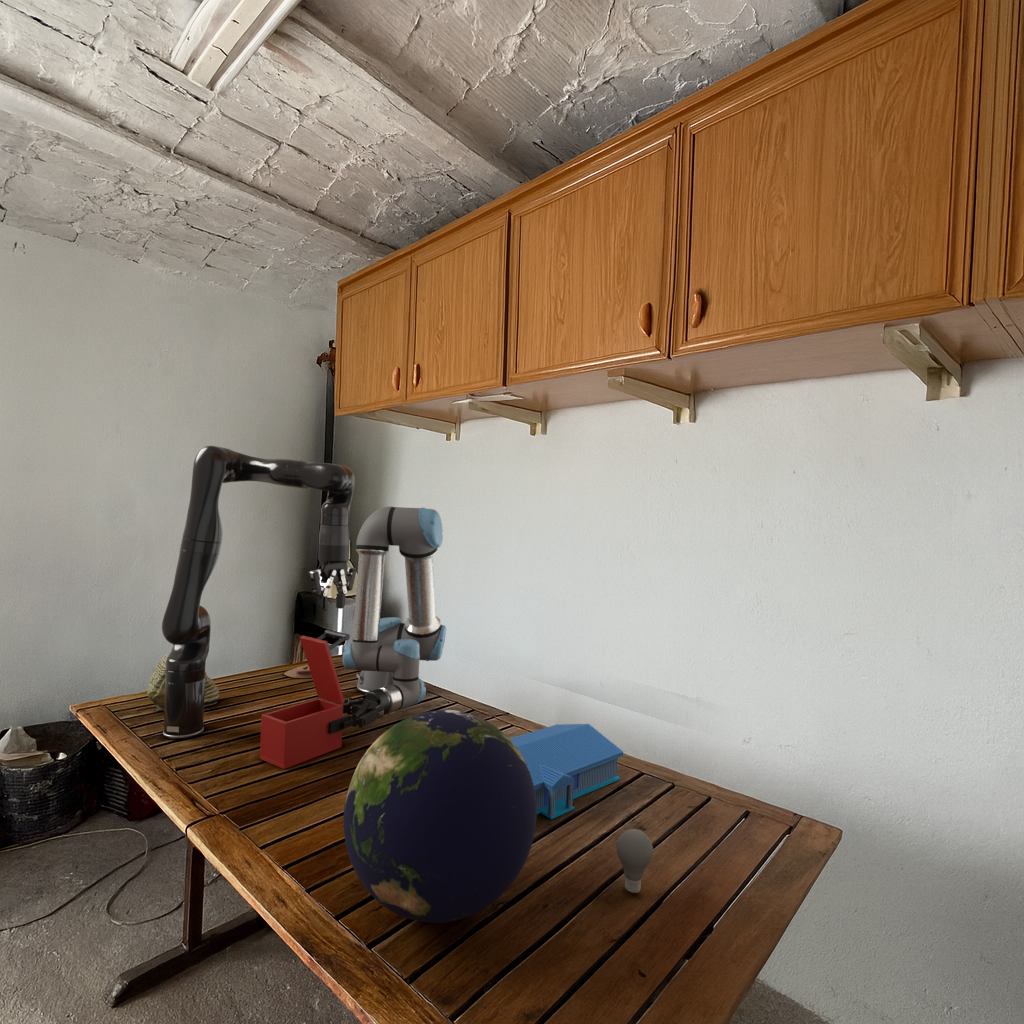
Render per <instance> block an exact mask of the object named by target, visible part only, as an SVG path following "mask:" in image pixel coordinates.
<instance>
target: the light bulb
mask: <svg viewBox="0 0 1024 1024" xmlns="http://www.w3.org/2000/svg"><path fill="white" fill-rule="evenodd" d="M615 849H616V854H617V857H618V859H619V861H620V863H621V865H622V867H623V873H624V874H623V875H624V876H625V878H624V888H625V890H627V891H628V892H630V893H634V894H635V893H639V892H640V891H641V889H642V887H641V886H642V879H643V877H644V875H645V871H646V868H647V867H648V866H649V864H650V863H651V861H652V859H653V855H654V847H653V843H652V841H651V838H649V836H648V835H647V834H646V833H645V832H643V831H642V830H641V829H636V828H629V829H627V830H625V831H623V832H622V833H621V834H620V835H619V837H618V839H617V841H616V847H615Z"/></svg>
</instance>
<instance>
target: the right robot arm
mask: <svg viewBox="0 0 1024 1024" xmlns="http://www.w3.org/2000/svg"><path fill="white" fill-rule="evenodd" d="M443 531H444V530H443V523H442V519H441V515H440V513H439V512H438V511H437V510H436V509H434V508H433V509H432V508H426V507H401V506H400V507H399V506H383V507H381V508H378V509H376V510H375V511H373V512H372V513H371V514H370V515H369V516H368V517H367V518H366V519H365V521H364V522H363V524H362V526H361V528H360V530H359V532H358V535H357V538H356V544H355V552H356V553H357V554H358V563H357V564H358V565H357V577H356V587H355V590H356V591H355V602H354V612H353V613H354V615H353V625H352V626H353V628H352V642H351V643H347V644H346V645H344V648H343V653H342V666H343V667H344V668H345V669H346V670H351V671H358V672H360V674H358V673H356V678H358V680H357V683H356V691H357V692H358V693H360V694H363V697H362V698H357V699H354V700H353V698H352V697H351V696H349V697H346V698H344V701H345V702H344V703H343V704H340V703H337V704H340V705H343V715H345V714H347V716H343V718H340V719H337V720H334V721H332V722H329V734H332V733H334V732H337V731H340V730H342V731H344V730H346V729H348V728H351V727H352V728H354V727H355V728H356V727H358V728H359V729H363V728H364V727H367V726H368V725H370V724H371V723H373V722H375V721H377V720H378V719H382V718H384V716H386V715H387V716H389V715H390V714H391V713H394V712H397V711H400V710H402V709H406V708H410V707H413V706H415V705H418V704H419V703H421V702H422V701H423V700H424V699H425V698H426V694H427V687H426V685H425V682H424V681H423V679H422V678H419V676H420V674H419V673H420V661H426V662H430V661H439V660H441V657H442V655H443V651H444V646H445V640H446V634H447V626H446V625H444V624H441V623H442V622H441V619H440V618H439V616H437V615H436V596H435V574H434V573H435V572H434V555H435V554H436V553H438V548H440V547H442V544H443V539H444V538H443V536H444V535H443ZM390 546H393V547H395V546H396V547H398V552H399V554H400V555H401V556H402V557H404V566H405V579H406V580H405V582H406V583H405V584H406V596H407V612H408V617H407V618H406V619H405V621H404V622H402V619H401V617H395V616H393V617H390V616H389V617H381V612H382V611H381V610H382V600H383V599H382V597H383V595H382V594H383V586H384V585H383V583H384V571H385V559H386V556H387V554H389V550H390V549H389V548H390ZM331 702H333V701H331ZM333 703H336V702H333Z"/></svg>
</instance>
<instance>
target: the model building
mask: <svg viewBox="0 0 1024 1024" xmlns="http://www.w3.org/2000/svg"><path fill="white" fill-rule="evenodd" d="M509 739H510V740H511V741H512V742H513V744H514V745H515V746H516V747H517V749H518V750H519V751H520V753H521V755H522V756H523V758H524V760H525V762H526V764H527V766H528V769H529V772H530V774H531V778H532V781H533V785H534V790H535V795H536V806H537V815H539V814H540V815H543V816H544V817H546V818H548V819H549V820H553V819H556V818H558V817H560V816H563V815H565V814H567V813H570V812H573V811H574V810H576V809H575V808H576V807H575V806H574V804H573V803H574V800H575V799H577V798H580V797H582V796H585V795H587V794H589V793H592V792H594V791H596V790H599V789H601V788H604V787H605V786H608V785H610V784H612V783H615V782H618V781H620V780H621V777H620V776H618V759H619V758H621V757H624V751H623V750H622V749H620V748H619V746H617V744H615V743H613V742H612V741H611V740H609V738H607V737H606V736H605V735H603V733H601V732H600V731H598V730H597V729H596V728H595V727H593V726H592V725H591V724H590V723H563V724H562V723H561V724H554V725H550V726H546V727H544V728H540V729H537V730H534V731H529V732H527V733H524V734H520V735H517V736H513V737H510V738H509Z"/></svg>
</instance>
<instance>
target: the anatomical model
mask: <svg viewBox="0 0 1024 1024" xmlns="http://www.w3.org/2000/svg"><path fill="white" fill-rule="evenodd" d="M283 675H284V676H286V677H289V678H292V679H293V678H294V679H312V675H311V672H310V669H309V666H308V664H306V665H301V666H298V667H297V666H296V667H295V668H293V669H289V670H287V671H285V672H284V673H283Z"/></svg>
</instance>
